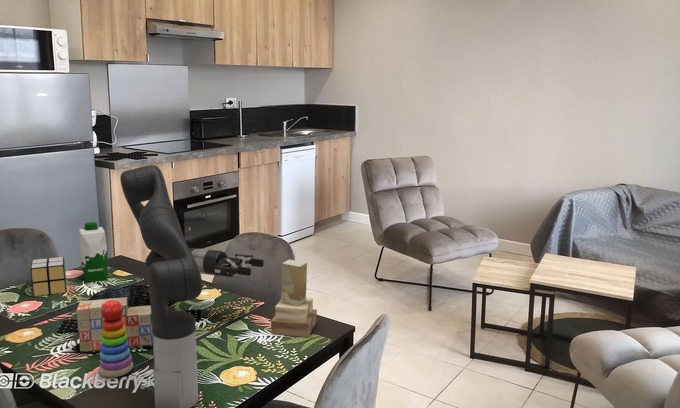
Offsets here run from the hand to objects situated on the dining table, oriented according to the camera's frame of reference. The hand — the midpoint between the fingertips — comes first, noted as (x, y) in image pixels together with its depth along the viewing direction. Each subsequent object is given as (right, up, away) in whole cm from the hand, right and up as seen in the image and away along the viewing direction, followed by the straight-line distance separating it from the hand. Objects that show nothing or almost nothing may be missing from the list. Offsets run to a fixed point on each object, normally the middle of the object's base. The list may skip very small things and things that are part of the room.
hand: (257, 267), depth 169 cm
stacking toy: (-32, -23, -25) cm, 47 cm away
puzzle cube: (-75, -11, +28) cm, 80 cm away
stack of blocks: (-35, -20, -10) cm, 42 cm away
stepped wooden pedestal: (+11, -18, +1) cm, 21 cm away
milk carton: (-64, -8, +40) cm, 76 cm away
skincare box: (+11, -10, -1) cm, 15 cm away
